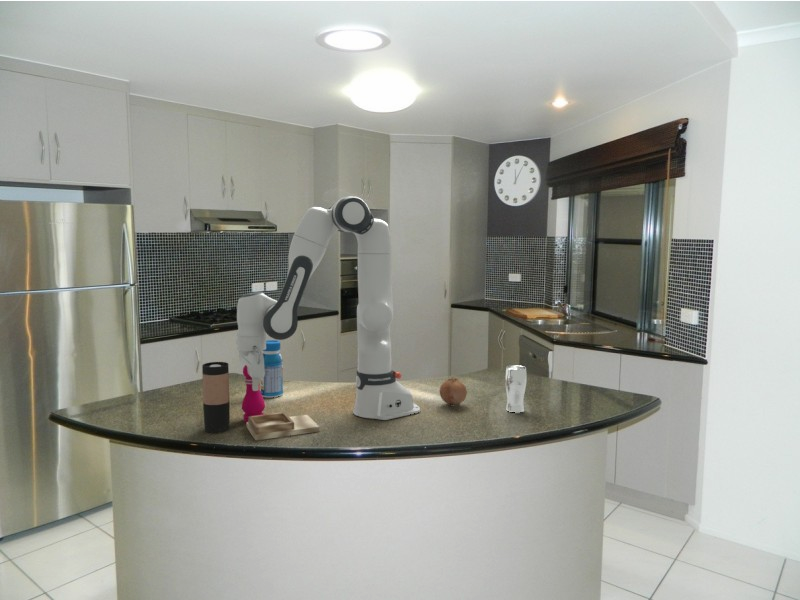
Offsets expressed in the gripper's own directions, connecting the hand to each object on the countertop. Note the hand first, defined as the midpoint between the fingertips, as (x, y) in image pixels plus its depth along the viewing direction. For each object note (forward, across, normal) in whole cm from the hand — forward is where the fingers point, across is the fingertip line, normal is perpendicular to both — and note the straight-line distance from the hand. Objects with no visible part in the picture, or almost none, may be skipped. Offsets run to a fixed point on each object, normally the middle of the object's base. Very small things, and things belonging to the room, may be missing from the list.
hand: (252, 386), depth 184 cm
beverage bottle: (+11, +26, -12) cm, 31 cm away
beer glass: (+10, -27, -82) cm, 87 cm away
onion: (+10, -13, -66) cm, 68 cm away
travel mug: (+11, -5, +12) cm, 17 cm away
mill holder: (+11, -13, -6) cm, 18 cm away
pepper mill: (+11, 0, 0) cm, 11 cm away
